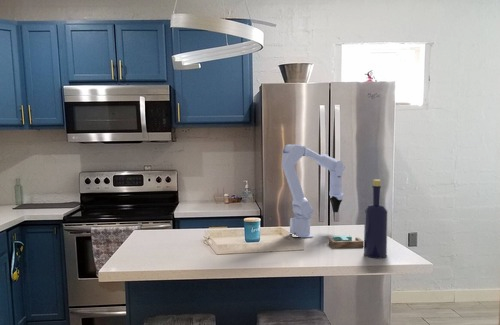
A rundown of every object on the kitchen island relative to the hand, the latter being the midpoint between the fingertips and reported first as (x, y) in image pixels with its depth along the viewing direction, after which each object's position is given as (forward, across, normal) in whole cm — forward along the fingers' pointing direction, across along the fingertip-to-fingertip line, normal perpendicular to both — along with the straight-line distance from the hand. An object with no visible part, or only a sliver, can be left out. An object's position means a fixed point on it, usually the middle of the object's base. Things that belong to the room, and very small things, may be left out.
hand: (335, 212), depth 184 cm
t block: (+10, -22, +3) cm, 24 cm away
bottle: (+10, -38, -4) cm, 39 cm away
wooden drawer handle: (+10, -24, +3) cm, 26 cm away
